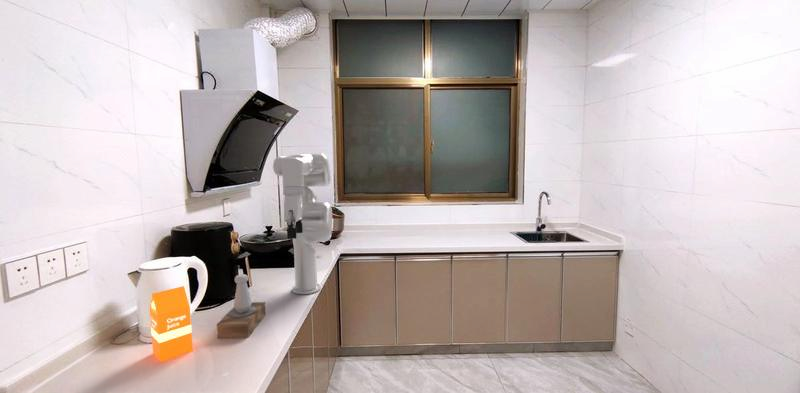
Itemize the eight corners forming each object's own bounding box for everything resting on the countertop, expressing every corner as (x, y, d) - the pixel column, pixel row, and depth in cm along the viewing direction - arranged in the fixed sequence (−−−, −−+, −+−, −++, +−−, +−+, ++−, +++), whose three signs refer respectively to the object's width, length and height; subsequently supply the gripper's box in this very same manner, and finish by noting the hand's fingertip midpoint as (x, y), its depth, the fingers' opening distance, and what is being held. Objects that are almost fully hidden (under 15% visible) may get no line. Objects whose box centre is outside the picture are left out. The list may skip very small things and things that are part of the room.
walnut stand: (239, 315, 140) (238, 301, 140) (265, 314, 141) (264, 300, 140) (217, 338, 122) (216, 322, 122) (248, 337, 123) (247, 322, 122)
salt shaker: (246, 306, 135) (245, 271, 134) (255, 310, 132) (253, 274, 130) (231, 311, 131) (229, 275, 129) (239, 315, 127) (237, 279, 126)
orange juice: (193, 350, 115) (188, 288, 113) (160, 362, 108) (155, 297, 106) (184, 342, 120) (180, 283, 118) (152, 353, 113) (147, 290, 111)
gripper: (289, 188, 146) (291, 231, 148) (276, 193, 129) (278, 241, 131) (308, 188, 147) (310, 230, 148) (298, 193, 129) (299, 240, 131)
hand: (295, 235), depth 140 cm, fingers open, 9 cm apart
